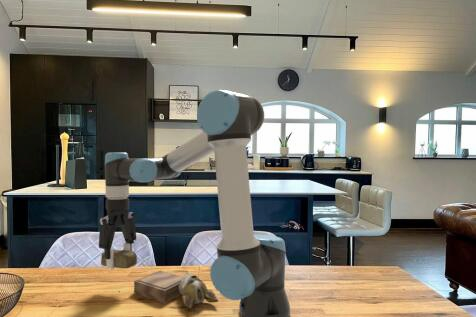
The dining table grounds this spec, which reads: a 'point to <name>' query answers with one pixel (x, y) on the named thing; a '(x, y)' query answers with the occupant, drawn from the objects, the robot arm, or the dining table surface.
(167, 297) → the walnut box
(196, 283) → the ceramic sculpture
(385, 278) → the dining table surface
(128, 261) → the stone block
